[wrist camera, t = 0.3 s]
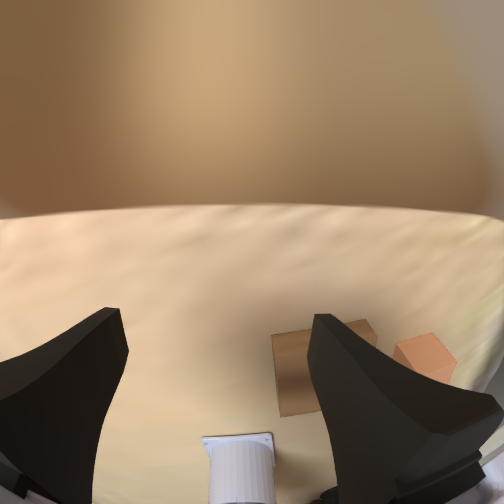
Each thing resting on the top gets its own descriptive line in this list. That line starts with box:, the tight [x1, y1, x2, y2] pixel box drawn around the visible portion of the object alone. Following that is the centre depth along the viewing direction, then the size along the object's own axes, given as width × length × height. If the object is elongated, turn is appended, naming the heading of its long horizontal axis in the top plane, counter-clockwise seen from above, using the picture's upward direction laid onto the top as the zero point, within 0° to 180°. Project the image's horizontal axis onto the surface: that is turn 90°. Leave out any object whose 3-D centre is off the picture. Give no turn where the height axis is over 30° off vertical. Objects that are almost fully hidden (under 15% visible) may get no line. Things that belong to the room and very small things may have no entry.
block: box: [393, 333, 457, 385], centre depth 22 cm, size 4×4×5 cm
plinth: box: [272, 319, 377, 417], centre depth 22 cm, size 8×8×2 cm
